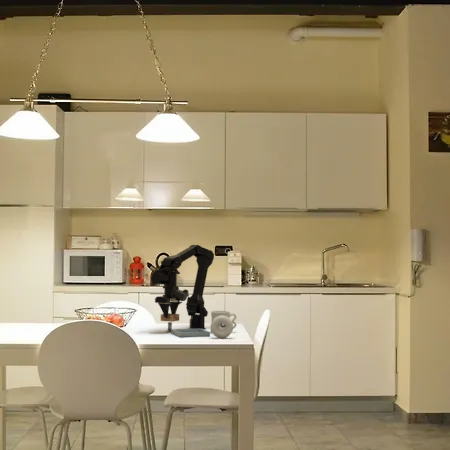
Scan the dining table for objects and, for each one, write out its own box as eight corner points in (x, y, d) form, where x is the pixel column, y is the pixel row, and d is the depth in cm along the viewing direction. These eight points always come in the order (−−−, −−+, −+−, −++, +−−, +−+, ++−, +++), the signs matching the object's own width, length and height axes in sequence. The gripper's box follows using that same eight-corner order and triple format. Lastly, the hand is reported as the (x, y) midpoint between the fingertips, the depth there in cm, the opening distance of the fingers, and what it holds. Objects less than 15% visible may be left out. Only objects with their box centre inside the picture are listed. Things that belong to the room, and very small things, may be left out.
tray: (200, 332, 312) (200, 328, 312) (210, 336, 299) (210, 331, 299) (171, 333, 307) (171, 329, 307) (180, 337, 294) (180, 332, 294)
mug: (212, 334, 308) (213, 312, 308) (208, 331, 317) (209, 310, 317) (238, 333, 311) (239, 312, 311) (234, 331, 320) (234, 310, 320)
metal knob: (171, 331, 315) (172, 322, 315) (173, 332, 312) (173, 322, 312) (165, 331, 314) (165, 322, 314) (167, 332, 311) (167, 322, 311)
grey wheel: (233, 338, 295) (233, 315, 295) (232, 339, 291) (233, 316, 292) (210, 337, 295) (211, 314, 296) (210, 338, 292) (210, 315, 292)
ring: (167, 319, 317) (167, 311, 318) (179, 320, 315) (179, 311, 315) (160, 320, 312) (160, 312, 312) (172, 321, 309) (172, 312, 309)
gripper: (175, 285, 302) (175, 320, 301) (194, 283, 319) (194, 316, 318) (154, 284, 307) (154, 318, 306) (174, 283, 324) (173, 315, 323)
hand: (169, 317), depth 313 cm, fingers closed on ring, 6 cm apart
